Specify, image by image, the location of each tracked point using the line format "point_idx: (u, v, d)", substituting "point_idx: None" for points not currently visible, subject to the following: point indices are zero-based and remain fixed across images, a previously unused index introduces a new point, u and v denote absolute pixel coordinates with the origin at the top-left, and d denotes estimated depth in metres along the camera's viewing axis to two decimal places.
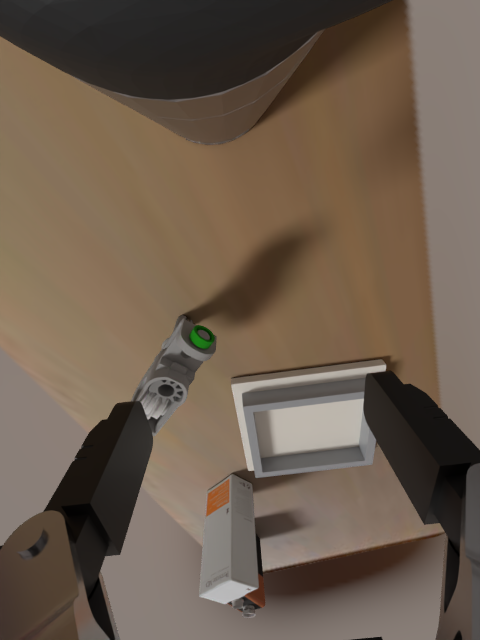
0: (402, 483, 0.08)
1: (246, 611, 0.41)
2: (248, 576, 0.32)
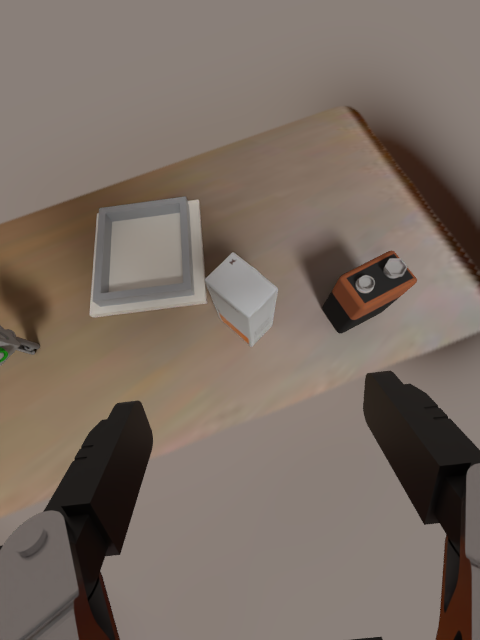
0: (403, 483, 0.08)
1: (386, 270, 0.28)
2: None
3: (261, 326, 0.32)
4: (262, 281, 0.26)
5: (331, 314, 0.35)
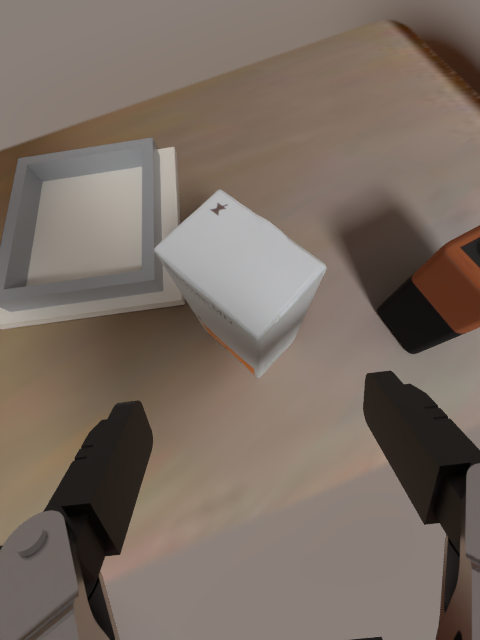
0: (402, 483, 0.08)
1: None
2: None
3: (278, 347, 0.17)
4: (288, 250, 0.11)
5: (399, 321, 0.20)
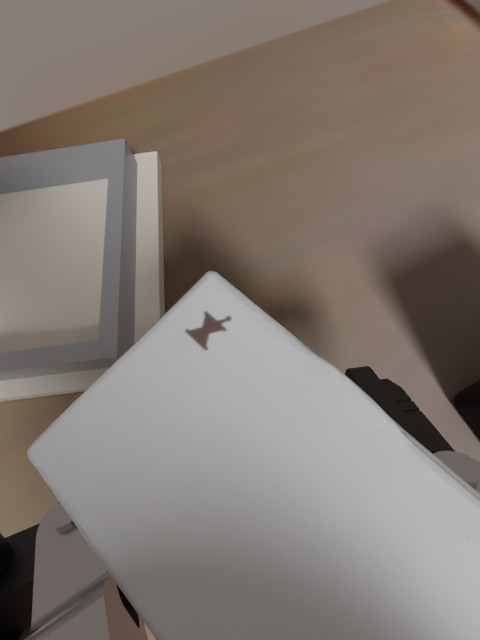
0: None
1: None
2: None
3: None
4: (416, 488, 0.04)
5: None
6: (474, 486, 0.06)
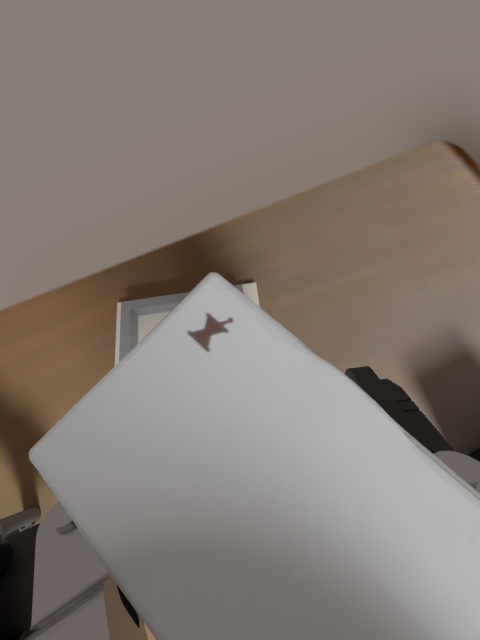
0: None
1: None
2: None
3: None
4: (420, 490, 0.04)
5: None
6: (474, 486, 0.06)
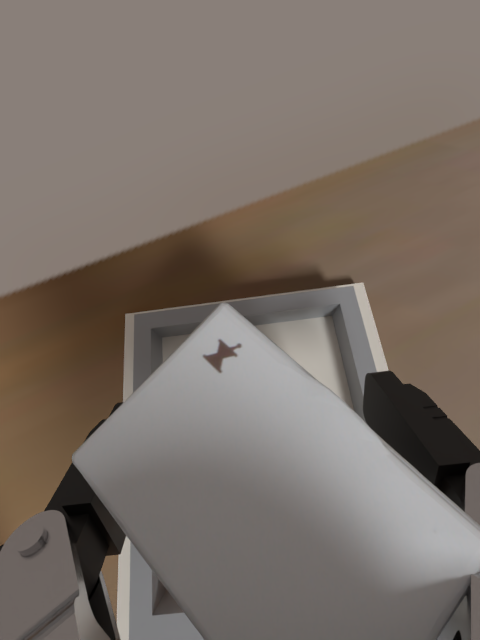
0: None
1: None
2: None
3: None
4: (394, 490, 0.04)
5: None
6: None
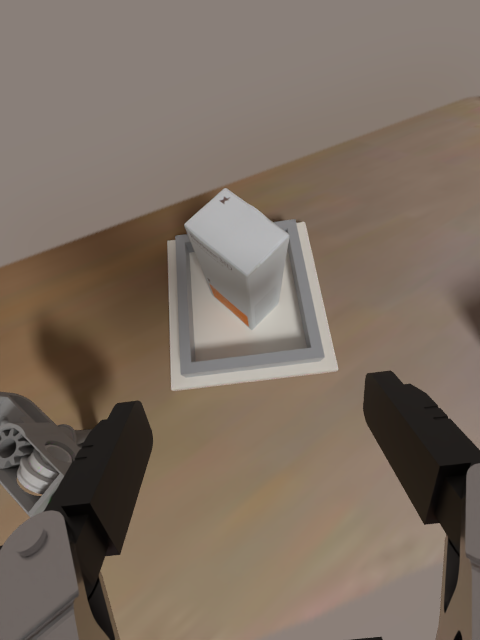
0: (402, 483, 0.08)
1: None
2: None
3: (264, 299, 0.24)
4: (266, 225, 0.18)
5: None
6: None
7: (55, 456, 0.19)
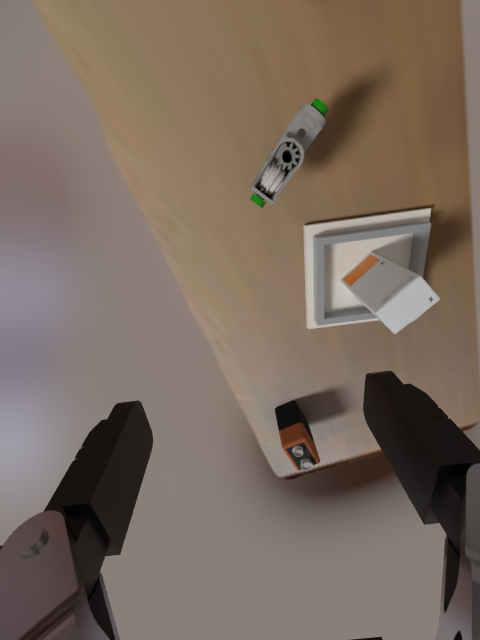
0: (402, 483, 0.08)
1: (305, 461, 0.46)
2: None
3: (360, 300, 0.38)
4: (404, 323, 0.32)
5: (287, 410, 0.51)
6: None
7: None
